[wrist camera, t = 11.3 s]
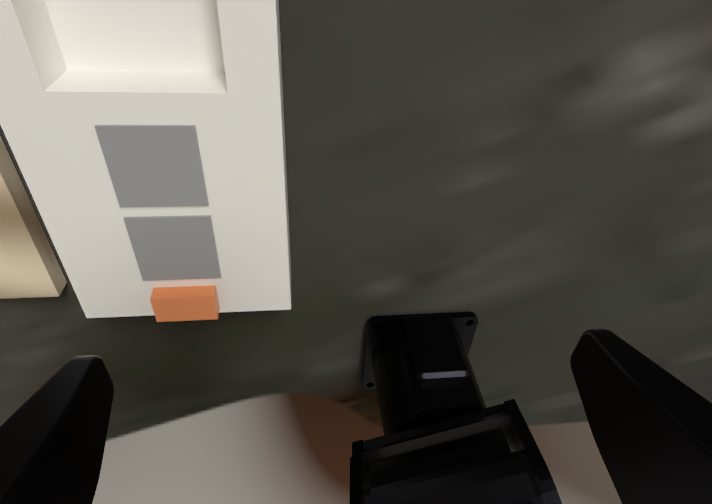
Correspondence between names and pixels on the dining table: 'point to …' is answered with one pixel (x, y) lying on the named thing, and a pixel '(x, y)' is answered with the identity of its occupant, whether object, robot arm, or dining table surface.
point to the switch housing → (153, 149)
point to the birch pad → (23, 242)
